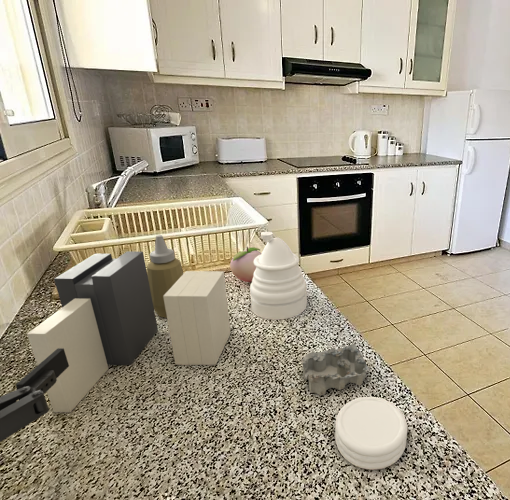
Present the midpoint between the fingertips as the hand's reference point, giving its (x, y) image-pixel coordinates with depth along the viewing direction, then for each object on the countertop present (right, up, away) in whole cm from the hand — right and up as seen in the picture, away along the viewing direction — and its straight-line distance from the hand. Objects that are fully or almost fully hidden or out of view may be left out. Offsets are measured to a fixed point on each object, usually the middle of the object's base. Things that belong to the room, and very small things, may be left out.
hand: (8, 357), depth 47 cm
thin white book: (-1, -9, +14) cm, 17 cm away
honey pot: (+26, 0, +41) cm, 49 cm away
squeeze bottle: (+3, -1, +37) cm, 37 cm away
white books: (+15, -5, +25) cm, 30 cm away
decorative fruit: (+17, +5, +52) cm, 55 cm away
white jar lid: (+46, -14, +6) cm, 48 cm away
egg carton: (+40, -9, +18) cm, 45 cm away
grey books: (-1, -5, +25) cm, 25 cm away
